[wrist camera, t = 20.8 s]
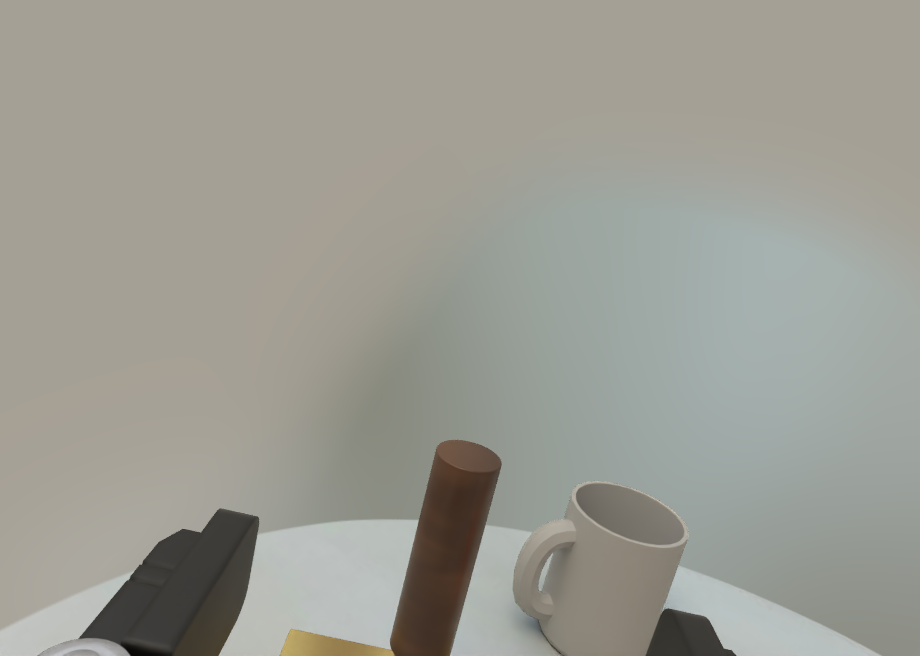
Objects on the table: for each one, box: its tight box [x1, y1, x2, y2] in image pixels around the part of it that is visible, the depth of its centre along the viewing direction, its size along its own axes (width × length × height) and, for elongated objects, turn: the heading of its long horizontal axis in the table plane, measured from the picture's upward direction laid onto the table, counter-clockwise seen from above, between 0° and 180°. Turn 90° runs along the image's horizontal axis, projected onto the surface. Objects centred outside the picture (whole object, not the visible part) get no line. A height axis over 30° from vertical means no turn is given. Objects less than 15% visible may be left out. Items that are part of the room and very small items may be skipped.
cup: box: [513, 481, 689, 656], centre depth 40 cm, size 7×10×9 cm
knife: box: [390, 440, 502, 656], centre depth 27 cm, size 3×5×15 cm, turn 178°
